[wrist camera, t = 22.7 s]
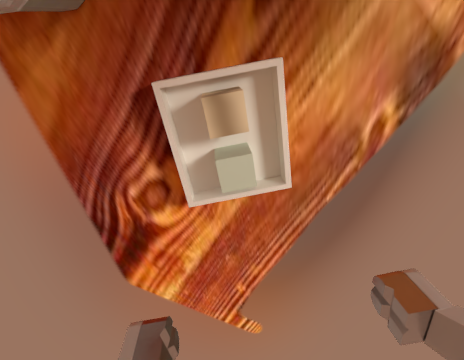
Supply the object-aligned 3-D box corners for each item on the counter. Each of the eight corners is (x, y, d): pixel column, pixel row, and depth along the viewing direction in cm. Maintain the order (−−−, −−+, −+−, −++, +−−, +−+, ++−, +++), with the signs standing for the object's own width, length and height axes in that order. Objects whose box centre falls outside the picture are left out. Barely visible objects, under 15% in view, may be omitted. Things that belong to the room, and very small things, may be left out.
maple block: (238, 86, 32) (243, 89, 28) (244, 122, 34) (249, 131, 30) (202, 93, 32) (201, 98, 28) (210, 129, 34) (210, 139, 30)
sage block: (247, 142, 36) (252, 153, 31) (251, 171, 38) (257, 186, 33) (214, 148, 36) (214, 160, 31) (220, 177, 38) (222, 193, 34)
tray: (274, 57, 32) (282, 57, 28) (284, 176, 40) (291, 187, 36) (157, 80, 32) (151, 82, 28) (190, 194, 40) (189, 207, 36)
